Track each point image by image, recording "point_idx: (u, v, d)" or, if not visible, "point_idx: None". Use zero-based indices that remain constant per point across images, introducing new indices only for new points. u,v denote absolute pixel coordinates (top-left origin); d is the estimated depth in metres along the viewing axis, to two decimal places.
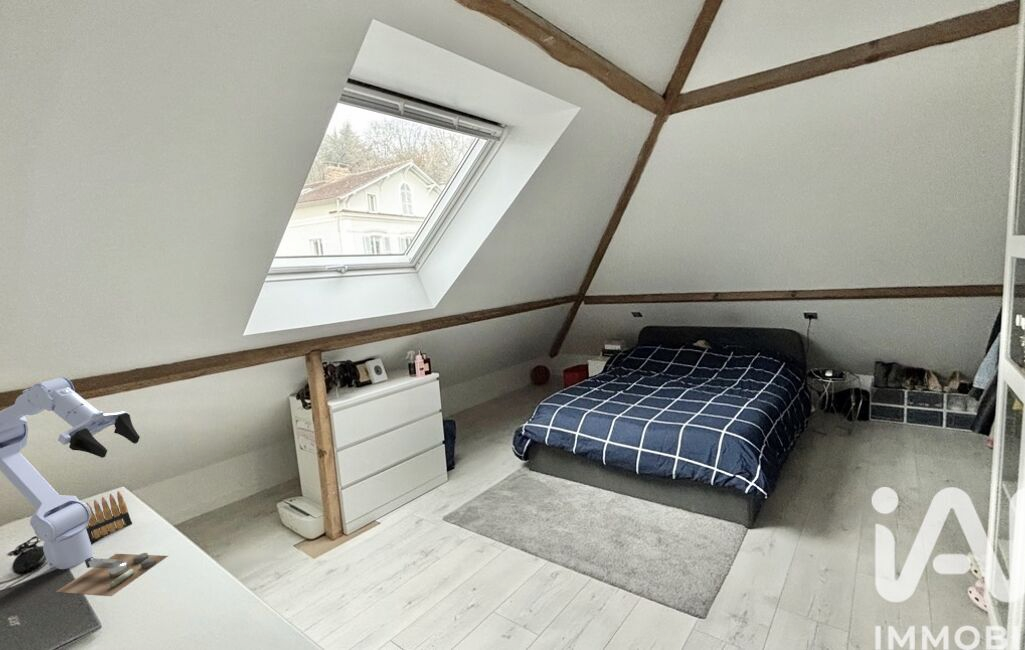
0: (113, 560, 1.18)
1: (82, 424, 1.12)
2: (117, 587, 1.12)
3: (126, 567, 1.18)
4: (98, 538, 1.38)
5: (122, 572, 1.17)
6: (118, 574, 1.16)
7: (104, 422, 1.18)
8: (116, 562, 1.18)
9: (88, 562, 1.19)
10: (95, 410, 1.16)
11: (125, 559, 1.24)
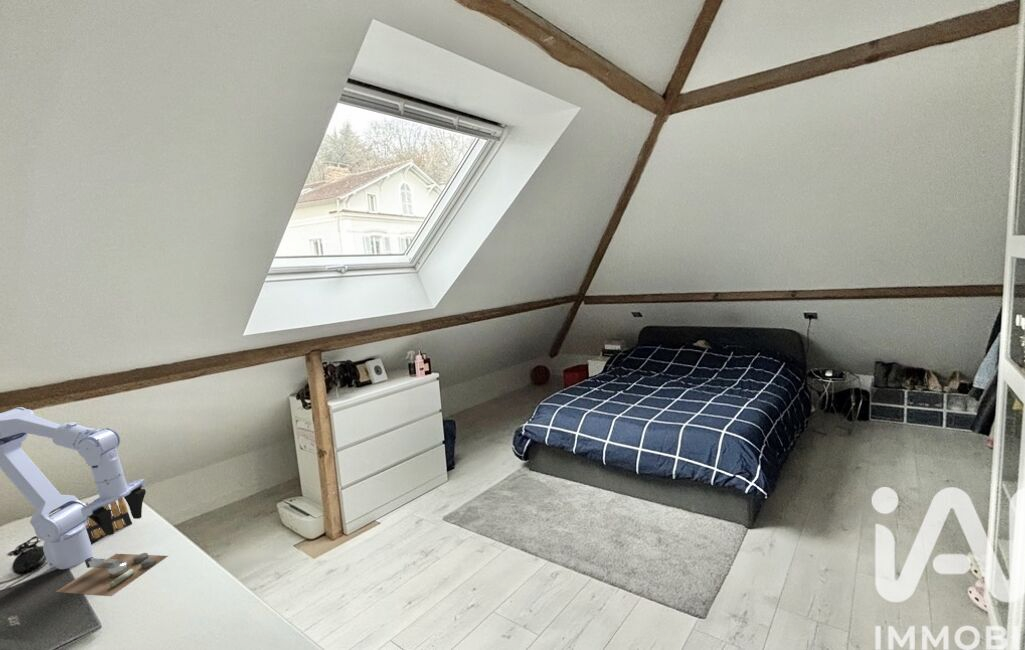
0: (113, 560, 1.18)
1: (107, 501, 1.20)
2: (117, 587, 1.12)
3: (126, 567, 1.18)
4: (98, 538, 1.38)
5: (122, 572, 1.17)
6: (118, 574, 1.16)
7: None
8: (116, 562, 1.18)
9: (88, 562, 1.19)
10: (124, 484, 1.23)
11: (125, 559, 1.24)
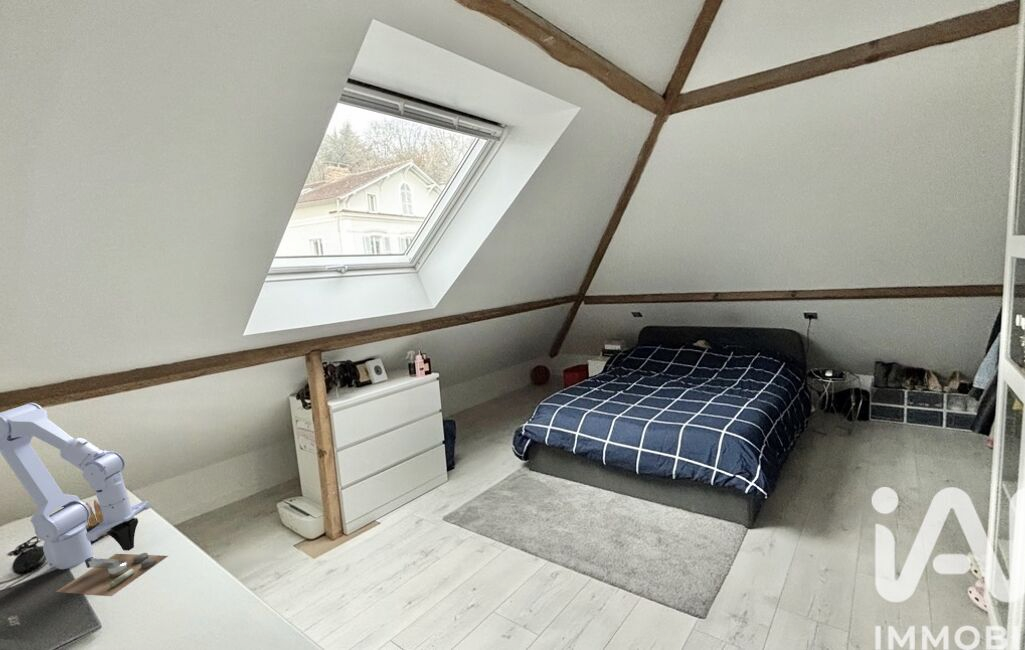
0: (113, 560, 1.18)
1: (112, 525, 1.20)
2: (117, 587, 1.12)
3: (126, 567, 1.18)
4: (98, 538, 1.38)
5: (122, 572, 1.17)
6: (118, 574, 1.16)
7: None
8: (116, 562, 1.18)
9: (88, 562, 1.19)
10: (128, 508, 1.24)
11: (125, 559, 1.24)
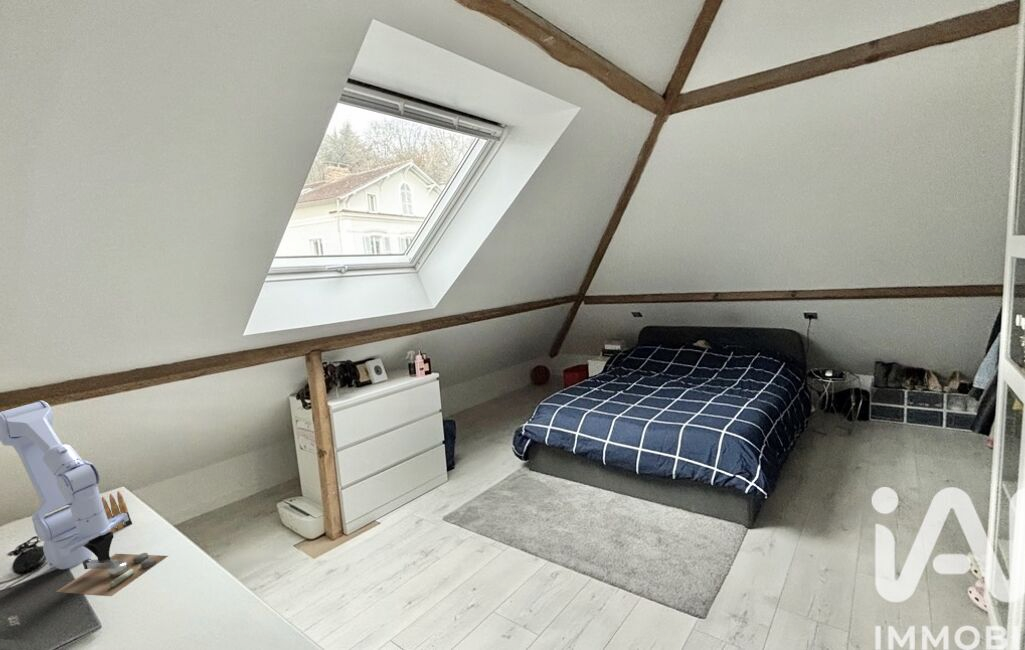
0: (113, 560, 1.18)
1: (87, 540, 1.15)
2: (117, 587, 1.12)
3: (126, 567, 1.18)
4: None
5: (123, 572, 1.17)
6: (118, 574, 1.17)
7: None
8: (116, 562, 1.18)
9: (86, 564, 1.19)
10: (105, 521, 1.18)
11: (125, 559, 1.24)
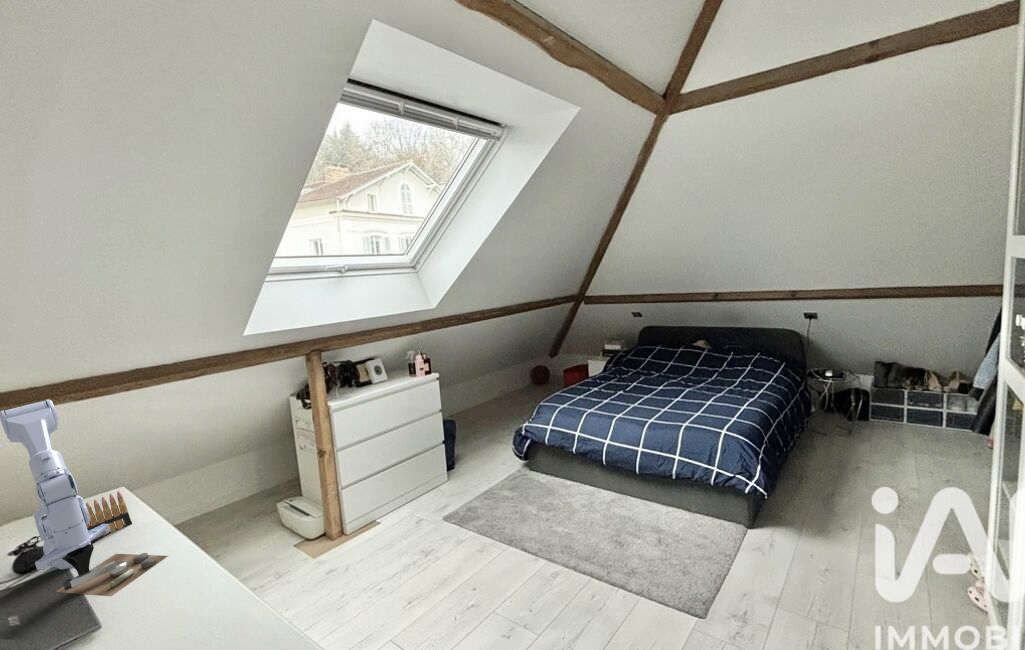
0: (110, 563, 1.17)
1: (65, 552, 1.10)
2: (117, 587, 1.12)
3: None
4: (98, 538, 1.38)
5: None
6: (126, 569, 1.18)
7: None
8: (115, 563, 1.18)
9: (69, 583, 1.12)
10: (84, 532, 1.14)
11: (125, 559, 1.24)
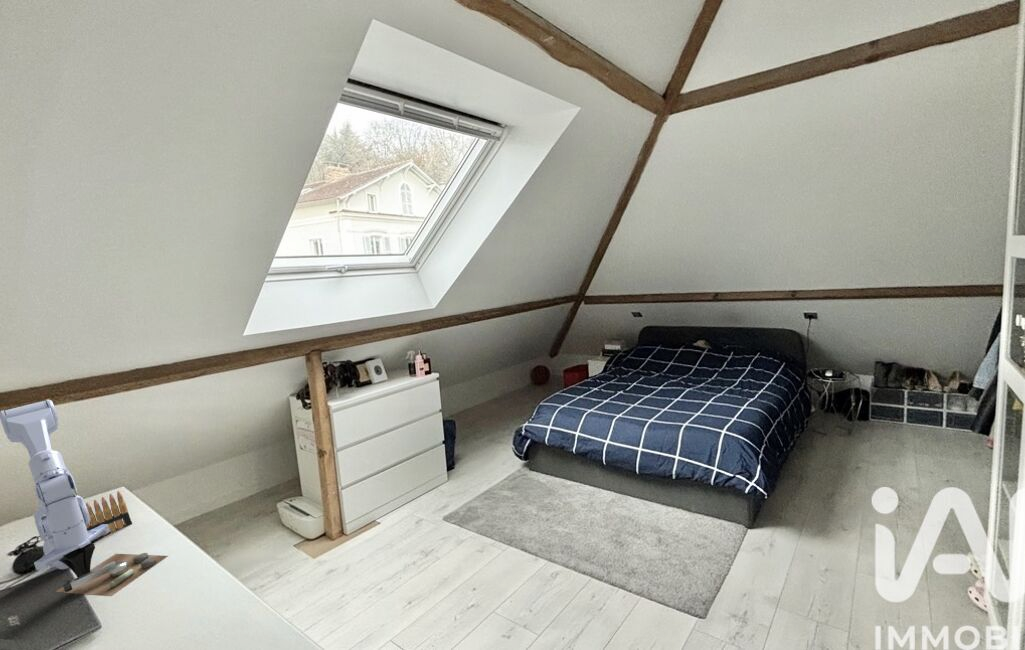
0: (110, 563, 1.17)
1: (64, 553, 1.10)
2: (117, 587, 1.12)
3: None
4: (98, 538, 1.38)
5: None
6: (126, 569, 1.18)
7: None
8: (115, 563, 1.18)
9: (70, 584, 1.11)
10: (84, 533, 1.14)
11: (125, 559, 1.24)
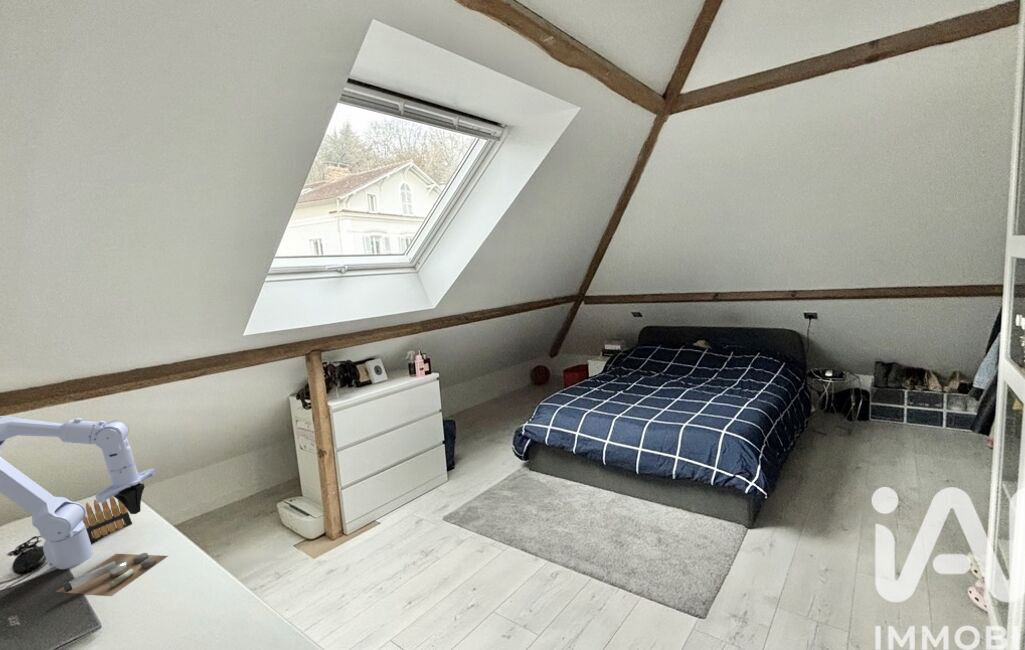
0: (110, 563, 1.17)
1: (120, 489, 1.26)
2: (117, 587, 1.12)
3: None
4: (98, 538, 1.38)
5: None
6: (126, 569, 1.18)
7: None
8: (115, 563, 1.18)
9: (70, 584, 1.11)
10: (135, 473, 1.30)
11: (125, 559, 1.24)
